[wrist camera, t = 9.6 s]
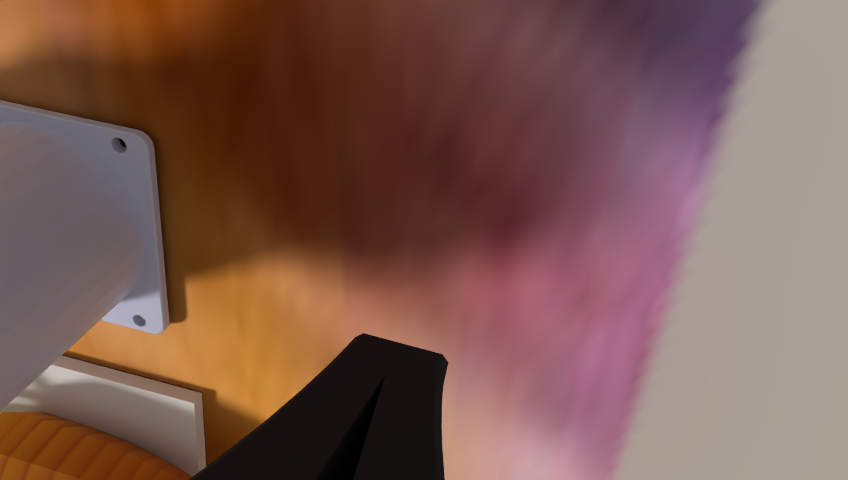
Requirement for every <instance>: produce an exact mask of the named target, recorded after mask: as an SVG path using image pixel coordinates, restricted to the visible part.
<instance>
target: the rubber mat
mask: <svg viewBox="0 0 848 480" xmlns="http://www.w3.org/2000/svg"><path fill="white" fill-rule="evenodd" d="M3 412H42V413H48V414H51V415H54V416H57V417H61V418H64V419H67V420H70V421H73V422H76V423H79V424H82V425H85V426H88V427H91V428H94V429H96V430H99V431H102V432H105V433H107V434H110V435H113V436H115V437H118V438H121V439H124V440H126V441H129V442H131V443H133V444H135V445H137V446H139V447H141V448H143V449H145V450H147V451H149V452H150V453H152V454H154V455H156V456H158V457H160V458H162V459H164V460H165V461H167V462H169V463H171V464H172V465H174V466H176V467H178V468H179V469H181V470H183V471H185V472H186V473H188V474H189V475H191V476H194V475H195V474H197V473H198V472H199V471H201V470H202V469H204V468H205V467H206V454H205V438H204V421H203V404H202V393H200V392H196V391H192V390H189V389H185V388H181V387H177V386H174V385H170V384H166V383H162V382H159V381H155V380H151V379H148V378H144V377H140V376H136V375H133V374H129V373H125V372H122V371H118V370H114V369H110V368H107V367H103V366H99V365H95V364H92V363H88V362H84V361H81V360H77V359H73V358H69V357H66V356H62V355H61V356H60V357H59V358H58V359H57V360H56V361H55V362H54V363H53V364H52V365H51V366H49V367H48V368H47V369H46V370H45V371H44V372H43V373H42V374H41V375H40V376H38V377H37V378H36V379H35V380H34V381H33V382H32V383H31V384H30V385H29V386H28V387H26V388H25V389H24V390H23V391H22V392H21V393H20V394H19V395H18V396H17V397H15V398H14V399H13V400H12V401H11V402H10V403H9V404H8V405H7V406H6V407H5V408H3V409H2V410H1V411H0V414H1V413H3Z"/></svg>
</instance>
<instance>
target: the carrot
mask: <svg viewBox="0 0 848 480" xmlns="http://www.w3.org/2000/svg"><path fill="white" fill-rule="evenodd" d="M191 477H192V476H191V475H189V474H188V473H186V472H185V471H183V470H181V469H179V468H178V467H176V466H174V465H172V464H171V463H169V462H167V461H165V460H164V459H162V458H160V457H158V456H156V455H154V454H152V453H150V452H149V451H147V450H145V449H143V448H141V447H139V446H137V445H135V444H133V443H131V442H129V441H126V440H124V439H121V438H118V437H115V436H113V435H110V434H107V433H105V432H102V431H99V430H96V429H94V428H91V427H88V426H85V425H82V424H79V423H76V422H73V421H70V420H67V419H64V418H61V417H57V416H54V415H51V414H48V413H42V412H3V413H1V414H0V480H188V479H190V478H191Z"/></svg>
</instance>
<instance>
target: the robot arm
mask: <svg viewBox="0 0 848 480" xmlns="http://www.w3.org/2000/svg"><path fill="white" fill-rule="evenodd" d="M119 138H120V139H122V140H123V141H124V142H125V144H126V146H127V148H125V147H123V146H122V145H121V144H120V141H119ZM141 316H142V317H143V318H144V319H143V318H142V317H141ZM100 320H102V321H106V322H110V323H114V324H118V325H122V326H126V327H130V328H133V329H137V330H141V331H145V332H149V333H153V334H160V333H162V332H163V331H164V330H165V329H166V328H167V327H168V326H169V312H168V300H167V289H166V277H165V266H164V254H163V243H162V231H161V220H160V208H159V197H158V185H157V174H156V162H155V151H154V145H153V142H152V140H151V139H150V137H149V136H148V135H147V134H145V133H144V132H142V131H140V130H136V129H132V128H127V127H122V126H118V125H113V124H109V123H104V122H99V121H95V120H90V119H85V118H81V117H76V116H72V115H67V114H62V113H58V112H53V111H49V110H44V109H39V108H35V107H30V106H25V105H21V104H16V103H12V102H7V101H2V100H0V411H1V410H2V409H3V408H5V407H6V406H7V405H8V404H9V403H10V402H11V401H12V400H13V399H14V398H15V397H17V396H18V395H19V394H20V393H21V392H22V391H23V390H24V389H25V388H26V387H28V386H29V385H30V384H31V383H32V382H33V381H34V380H35V379H36V378H37V377H38V376H40V375H41V374H42V373H43V372H44V371H45V370H46V369H47V368H48V367H49V366H51V365H52V364H53V363H54V362H55V361H56V360H57V359H58V358H59V357H60V356H61V355H63V354H64V353H65V352H66V351H67V350H68V349H69V348H70V347H71V346H72V345H74V344H75V343H76V342H77V341H78V340H79V339H80V338H81V337H82V336H83V335H84V334H86V333H87V332H88V331H89V330H90V329H91V328H92V327H93V326H94V325H95V324H97V323H98V322H99V321H100ZM447 366H448V362H447V360H446V359H445V357H444V356H443V355H442V354H439V353H435V352H432V351H428V350H424V349H420V348H417V347H413V346H409V345H405V344H402V343H398V342H394V341H390V340H387V339H383V338H379V337H375V336H372V335H368V334H364V333H363V334H361V335H359V336H357V337H355V338H354V339H353V340H352V341H351V342H350V343H349V345H348V346H347V347H346V348H345V349H344V350H343V351H342V352H341V353H340V354H339V355H338V356H337V357H336V358H335V359H334V360H333V361H332V362H331V363H330V364H329V365H328V366H327V367H326V368H325V369H324V370H323V371H322V372H320V373H319V374H318V375H317V376H316V377H315V378H314V379H313V380H312V381H311V382H310V383H309V384H307V385H306V386H305V387H304V388H303V389H302V390H301V391H300V392H299V393H297V394H296V395H295V396H294V397H293V398H292V399H290V400H289V401H288V402H287V403H286V404H285V405H284V406H282V407H281V408H280V409H279V410H278V411H277V412H275V413H274V414H273V415H272V416H271V417H270V418H268V419H267V420H266V421H265V422H264V423H262V424H261V425H260V426H259V427H257V428H256V429H255V430H254V431H252V432H251V433H250V434H248V435H247V436H246V437H244V438H243V439H242V440H241V441H239V442H238V443H237V444H235V445H234V446H233V447H232V448H230V449H229V450H228V451H226V452H225V453H224V454H222V455H221V456H220V457H219V458H217V459H216V460H215V461H213V462H212V463H211V464H209V465H208V466H206V467H205V468H204V469H202V470H201V471H199V472H198V473H197V474H195V475H194V476H192V477H191V478H190V479H188V480H445V478H444V465H443V451H442V428H441V424H442V393H443V384H444V380H445V375H446V370H447Z"/></svg>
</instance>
